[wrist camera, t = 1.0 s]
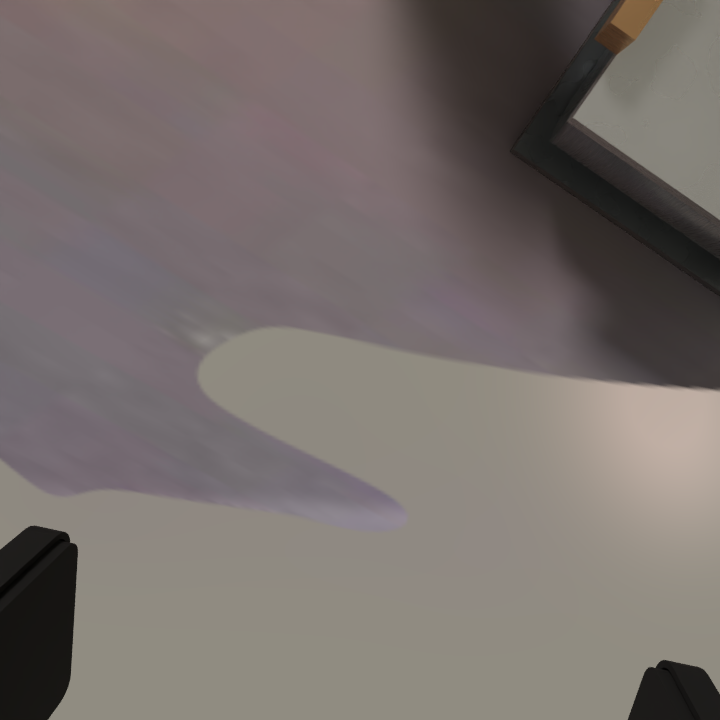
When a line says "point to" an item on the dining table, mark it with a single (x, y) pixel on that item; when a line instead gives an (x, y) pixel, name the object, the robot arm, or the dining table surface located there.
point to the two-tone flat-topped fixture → (642, 129)
